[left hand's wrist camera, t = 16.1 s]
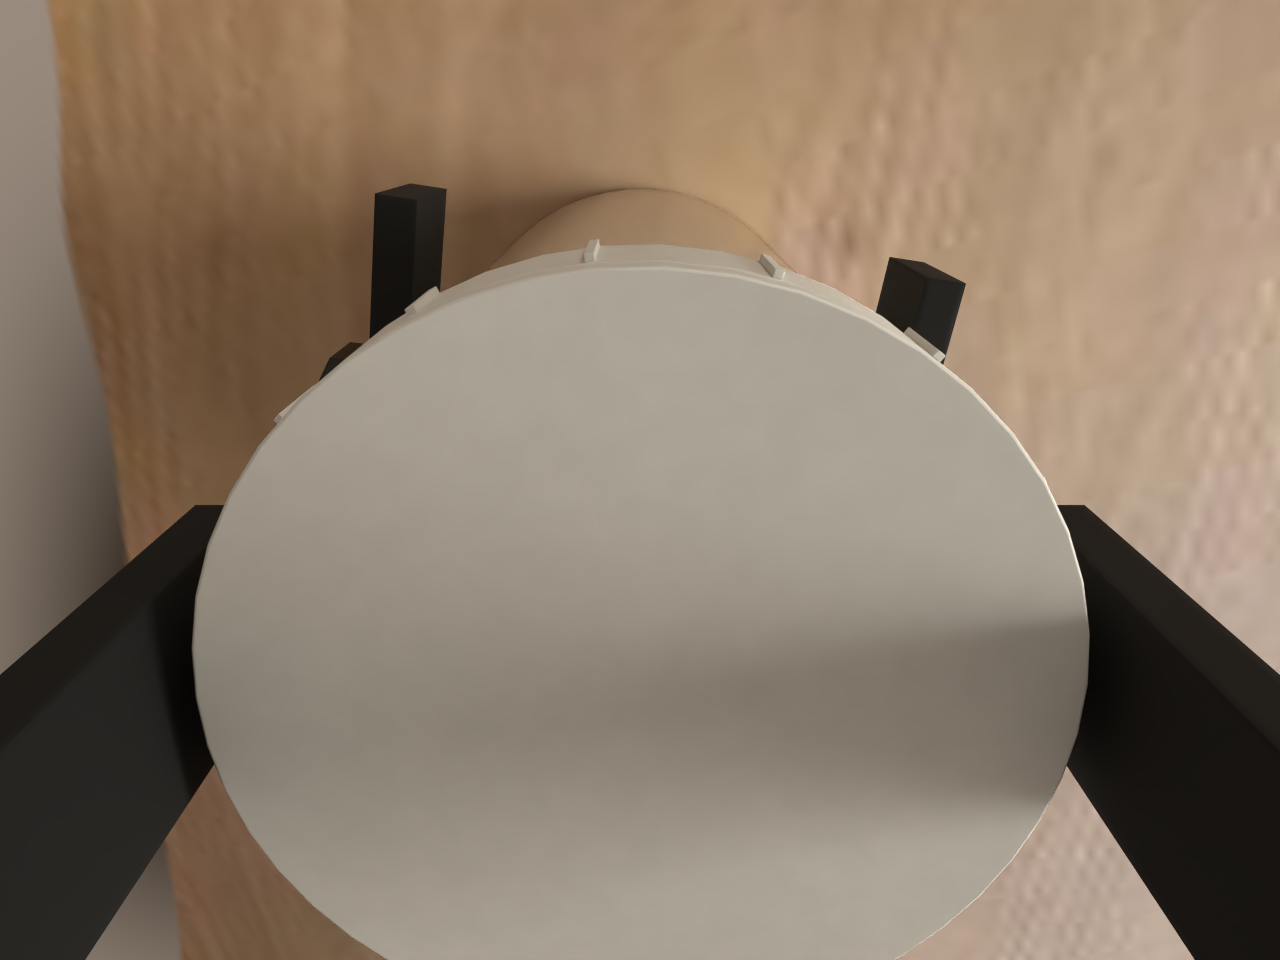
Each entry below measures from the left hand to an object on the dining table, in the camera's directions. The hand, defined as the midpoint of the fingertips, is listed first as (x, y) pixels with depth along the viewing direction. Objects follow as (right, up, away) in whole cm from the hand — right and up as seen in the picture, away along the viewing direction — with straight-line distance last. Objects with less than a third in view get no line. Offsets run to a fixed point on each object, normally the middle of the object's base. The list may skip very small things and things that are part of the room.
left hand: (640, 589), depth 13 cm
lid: (0, -1, -2) cm, 3 cm away
